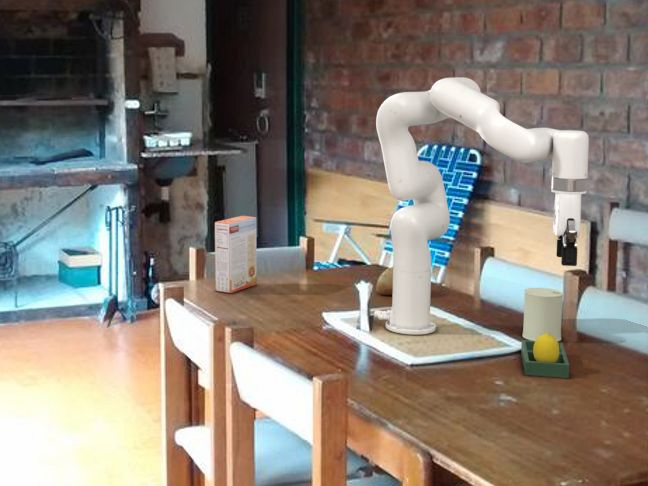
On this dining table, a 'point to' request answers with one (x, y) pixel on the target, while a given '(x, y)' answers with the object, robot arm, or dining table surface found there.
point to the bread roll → (385, 282)
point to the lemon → (546, 349)
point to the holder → (544, 368)
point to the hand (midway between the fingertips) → (566, 261)
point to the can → (542, 313)
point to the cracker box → (235, 254)
